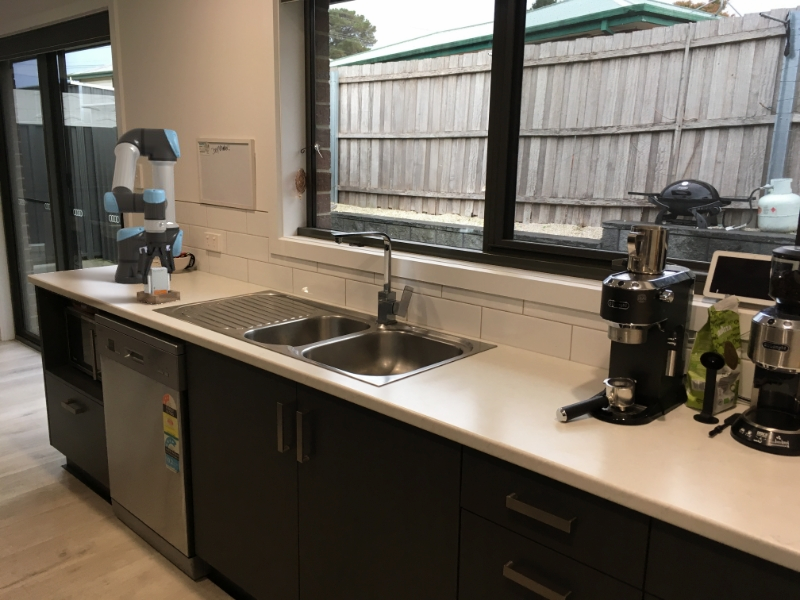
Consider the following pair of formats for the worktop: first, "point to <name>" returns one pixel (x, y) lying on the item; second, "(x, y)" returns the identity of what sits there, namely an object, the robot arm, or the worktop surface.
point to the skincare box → (158, 280)
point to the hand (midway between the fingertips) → (157, 291)
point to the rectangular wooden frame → (158, 297)
